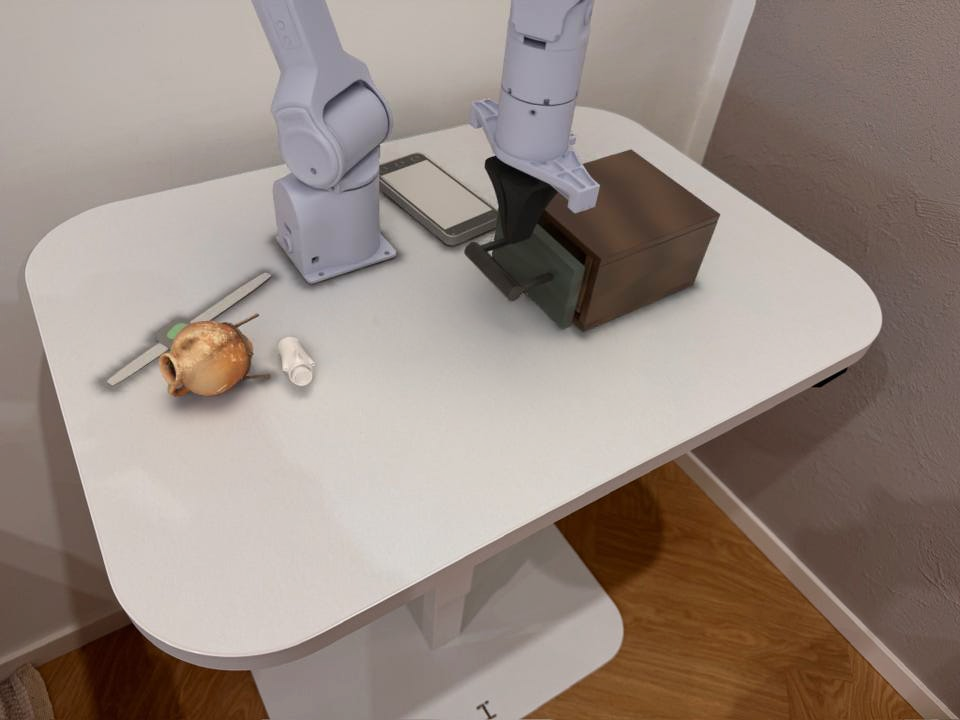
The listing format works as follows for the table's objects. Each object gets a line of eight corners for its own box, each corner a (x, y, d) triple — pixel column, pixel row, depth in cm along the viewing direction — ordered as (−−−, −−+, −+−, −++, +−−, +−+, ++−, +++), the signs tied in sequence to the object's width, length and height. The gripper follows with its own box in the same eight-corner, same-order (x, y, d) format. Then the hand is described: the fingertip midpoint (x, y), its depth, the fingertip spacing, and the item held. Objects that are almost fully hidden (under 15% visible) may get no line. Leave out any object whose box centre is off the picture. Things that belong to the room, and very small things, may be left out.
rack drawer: (516, 348, 65) (527, 289, 60) (448, 273, 71) (452, 214, 67) (668, 284, 73) (688, 228, 69) (595, 222, 80) (608, 166, 75)
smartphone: (419, 150, 86) (505, 215, 78) (419, 158, 87) (504, 223, 79) (366, 169, 82) (450, 238, 75) (366, 177, 83) (450, 247, 76)
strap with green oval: (255, 263, 70) (279, 277, 69) (256, 267, 71) (279, 280, 70) (95, 371, 60) (120, 388, 59) (96, 374, 60) (121, 392, 59)
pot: (246, 377, 64) (285, 378, 60) (156, 405, 59) (192, 409, 54) (229, 311, 63) (268, 307, 59) (136, 333, 58) (171, 331, 53)
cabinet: (582, 332, 69) (601, 259, 63) (504, 256, 76) (515, 183, 69) (693, 284, 75) (721, 214, 69) (612, 218, 82) (631, 148, 76)
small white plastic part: (324, 346, 65) (322, 319, 62) (312, 397, 60) (309, 371, 58) (282, 342, 64) (279, 316, 62) (267, 394, 60) (263, 367, 58)
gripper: (645, 121, 53) (605, 270, 62) (525, 39, 60) (506, 183, 70) (568, 143, 49) (538, 297, 59) (452, 53, 57) (442, 202, 67)
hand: (516, 237), depth 64 cm, fingers closed
